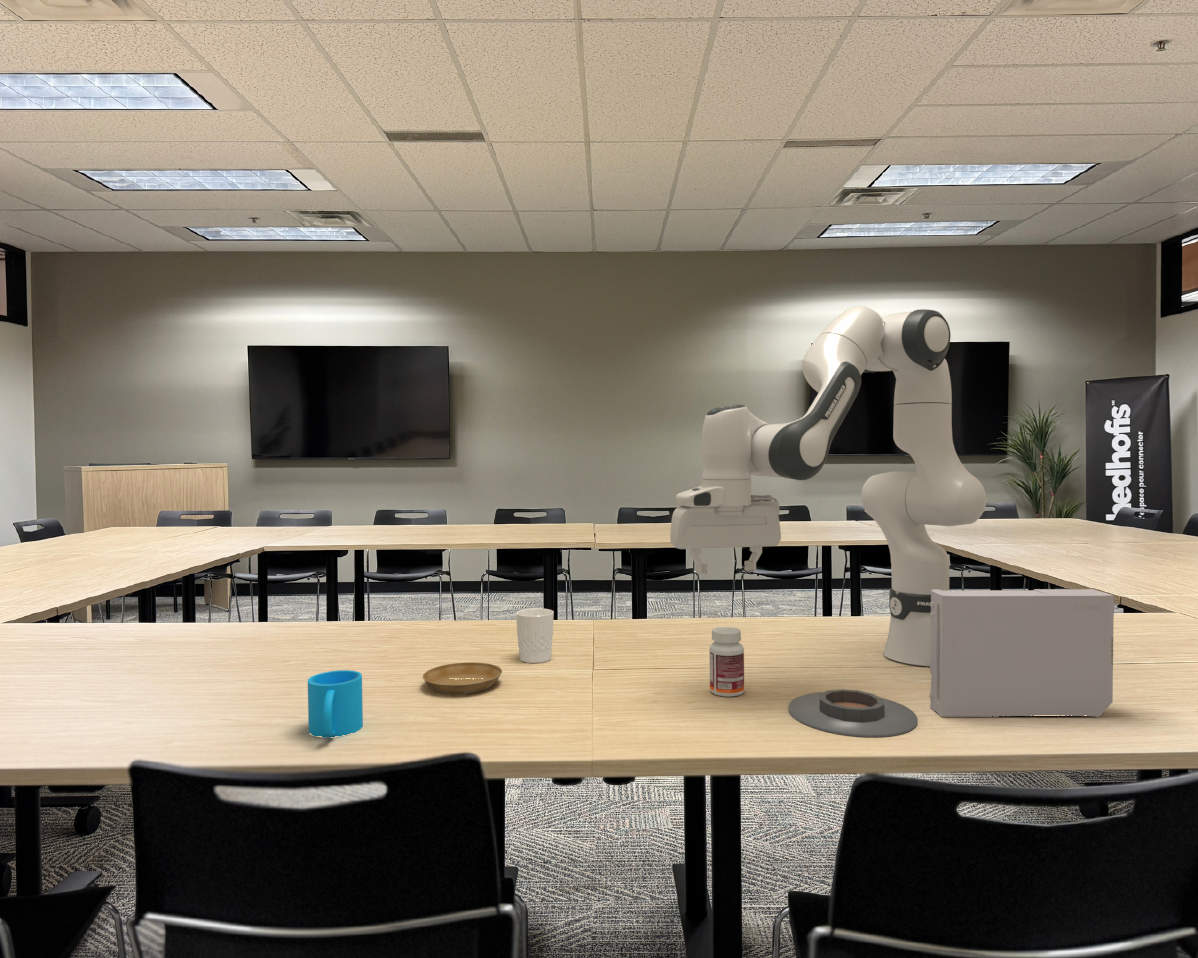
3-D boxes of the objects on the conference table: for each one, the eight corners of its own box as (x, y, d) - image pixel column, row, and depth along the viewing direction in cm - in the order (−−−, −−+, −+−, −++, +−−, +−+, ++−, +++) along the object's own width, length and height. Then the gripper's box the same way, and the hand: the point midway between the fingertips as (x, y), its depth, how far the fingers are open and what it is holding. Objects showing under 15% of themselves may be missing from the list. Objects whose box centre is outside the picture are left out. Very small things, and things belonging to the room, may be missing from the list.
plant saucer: (406, 694, 134) (406, 680, 134) (449, 671, 148) (449, 659, 148) (478, 703, 129) (477, 688, 129) (515, 678, 143) (515, 665, 143)
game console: (926, 705, 125) (926, 589, 125) (1089, 705, 124) (1090, 588, 124) (940, 717, 119) (941, 595, 119) (1112, 718, 118) (1113, 595, 118)
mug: (314, 721, 120) (313, 671, 120) (366, 717, 122) (365, 668, 121) (298, 750, 108) (296, 695, 108) (355, 745, 110) (354, 691, 110)
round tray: (868, 690, 133) (868, 676, 133) (945, 729, 114) (945, 713, 114) (767, 700, 128) (767, 685, 128) (830, 743, 109) (830, 726, 109)
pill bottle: (751, 693, 132) (751, 630, 132) (726, 699, 129) (725, 635, 128) (727, 684, 137) (727, 624, 137) (702, 690, 134) (702, 628, 134)
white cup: (509, 662, 154) (509, 614, 153) (527, 652, 161) (527, 607, 161) (543, 665, 151) (543, 617, 150) (560, 656, 158) (559, 609, 158)
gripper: (770, 493, 137) (770, 567, 138) (667, 495, 133) (667, 571, 133) (787, 495, 131) (787, 572, 132) (679, 497, 126) (679, 577, 127)
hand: (726, 572), depth 132 cm, fingers open, 8 cm apart
